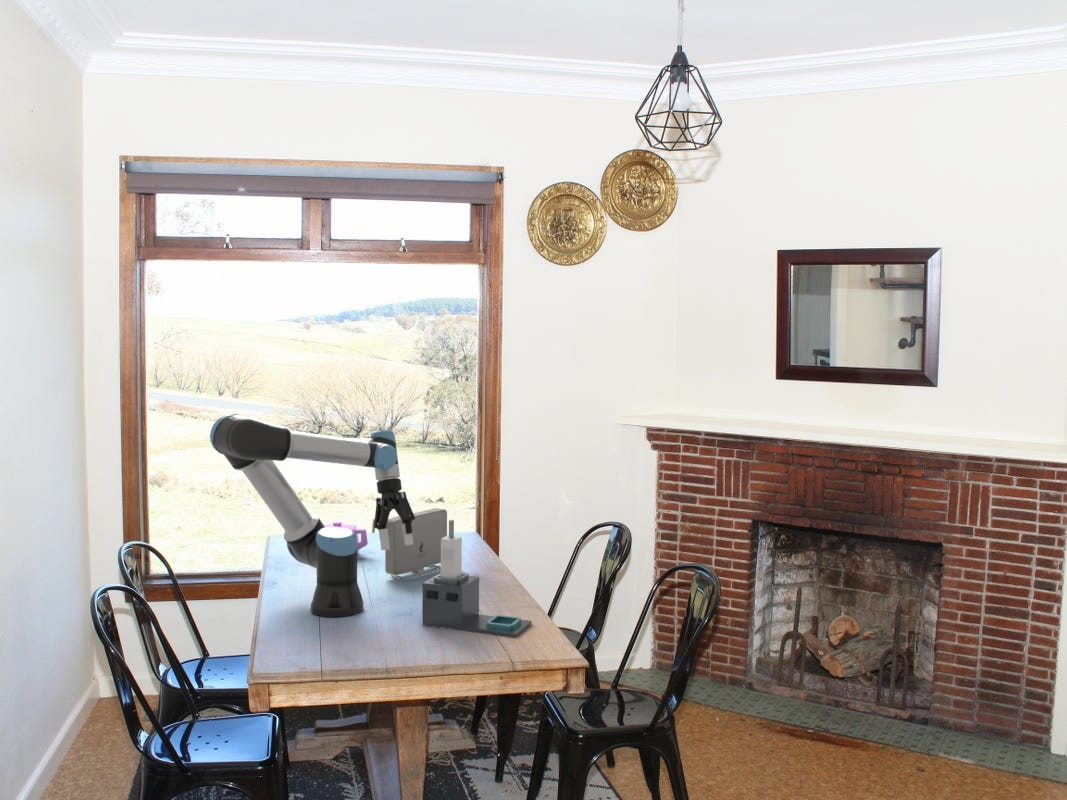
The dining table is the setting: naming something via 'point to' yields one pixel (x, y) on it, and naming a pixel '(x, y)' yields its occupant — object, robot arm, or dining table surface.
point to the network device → (416, 543)
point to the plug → (451, 555)
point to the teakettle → (356, 531)
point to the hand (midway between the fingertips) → (397, 547)
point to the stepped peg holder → (463, 608)
